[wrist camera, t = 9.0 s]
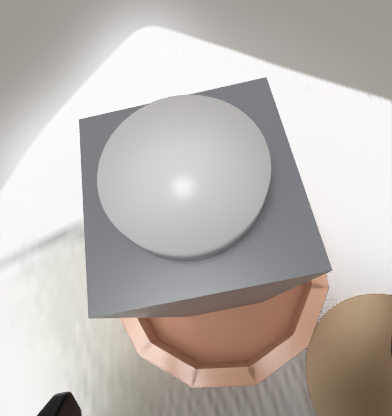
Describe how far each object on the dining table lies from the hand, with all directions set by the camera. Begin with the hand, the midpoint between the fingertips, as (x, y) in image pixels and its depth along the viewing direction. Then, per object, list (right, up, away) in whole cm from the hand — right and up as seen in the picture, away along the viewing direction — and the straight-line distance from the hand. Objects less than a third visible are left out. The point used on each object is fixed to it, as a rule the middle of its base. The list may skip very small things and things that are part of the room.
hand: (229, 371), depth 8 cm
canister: (0, +1, +10) cm, 10 cm away
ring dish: (0, 0, +11) cm, 11 cm away
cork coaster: (+10, -5, +8) cm, 14 cm away
